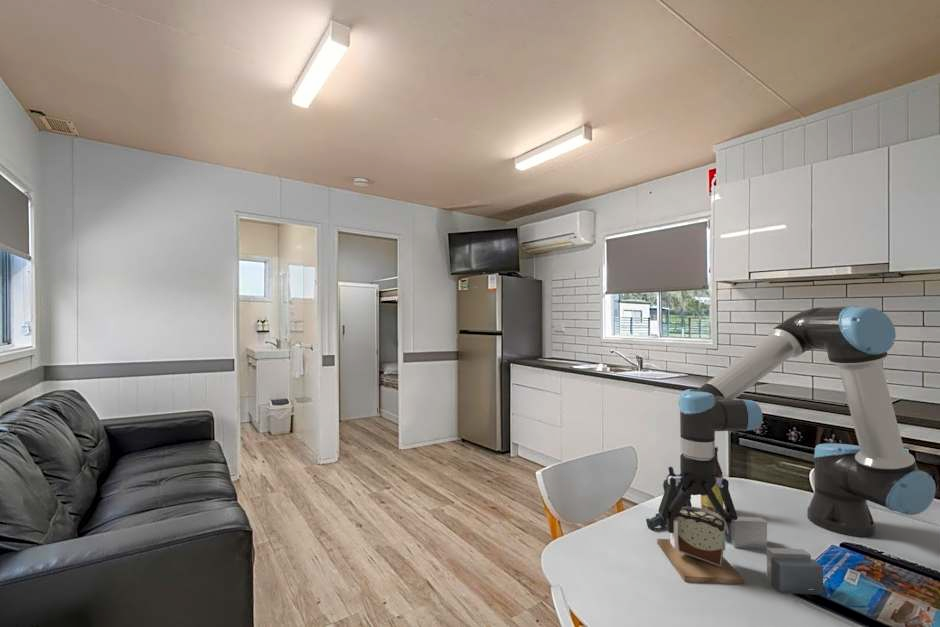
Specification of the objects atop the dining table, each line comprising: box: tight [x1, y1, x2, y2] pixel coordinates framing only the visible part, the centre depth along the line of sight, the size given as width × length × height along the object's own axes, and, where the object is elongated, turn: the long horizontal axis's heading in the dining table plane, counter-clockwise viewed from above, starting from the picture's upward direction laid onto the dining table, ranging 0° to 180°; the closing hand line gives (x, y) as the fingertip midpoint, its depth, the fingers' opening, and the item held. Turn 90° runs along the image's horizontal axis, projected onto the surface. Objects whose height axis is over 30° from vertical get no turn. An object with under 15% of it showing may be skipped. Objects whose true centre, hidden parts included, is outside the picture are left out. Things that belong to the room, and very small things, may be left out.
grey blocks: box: [725, 515, 824, 596], centre depth 109 cm, size 9×28×7 cm, turn 176°
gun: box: [645, 466, 693, 531], centre depth 126 cm, size 3×17×15 cm
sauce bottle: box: [700, 445, 724, 514], centre depth 137 cm, size 7×6×20 cm
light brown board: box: [656, 538, 745, 585], centre depth 107 cm, size 13×17×1 cm
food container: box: [675, 506, 729, 566], centre depth 107 cm, size 12×6×10 cm, turn 45°
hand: (697, 546), depth 107 cm, fingers closed on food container, 10 cm apart
